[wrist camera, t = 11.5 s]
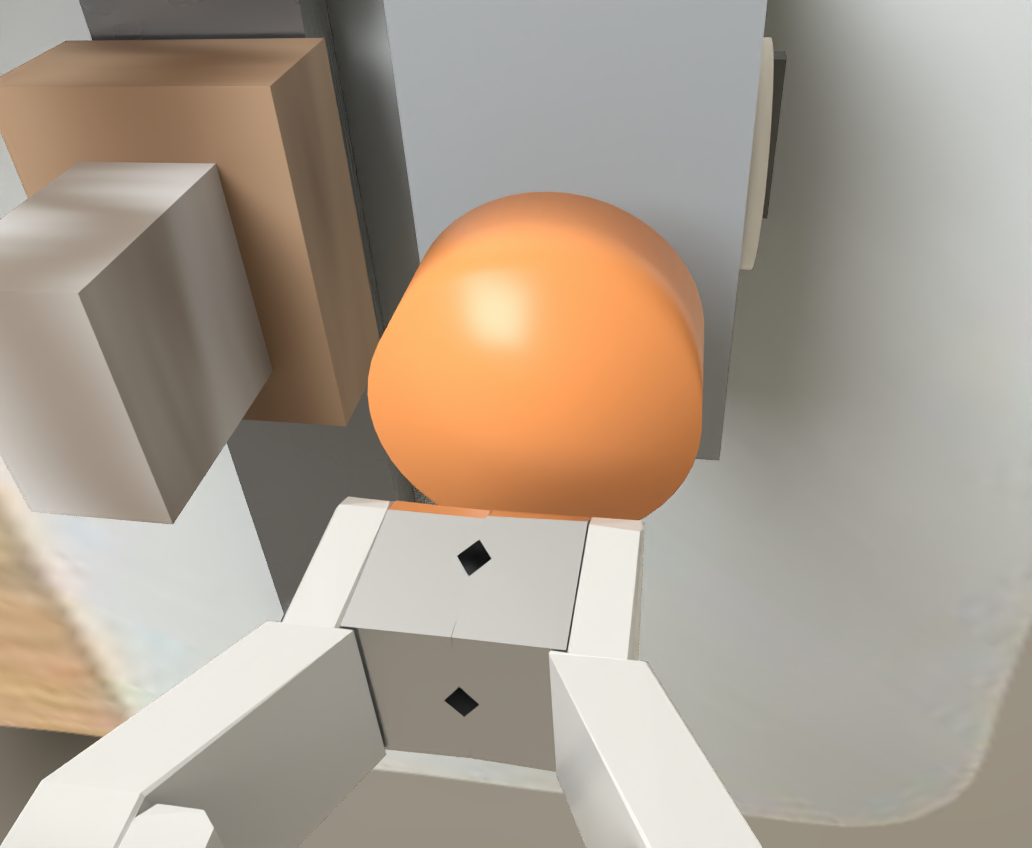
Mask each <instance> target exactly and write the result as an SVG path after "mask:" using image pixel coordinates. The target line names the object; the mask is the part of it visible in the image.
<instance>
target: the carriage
mask: <svg viewBox="0 0 1032 848" xmlns="http://www.w3.org/2000/svg"><path fill="white" fill-rule="evenodd" d="M0 132H1V135H2V137H3V139H4V142H5V144H6V147H7V149H8V151H9V154H10V156H11V159H12V161H13V163H14V166H15V168H16V170H17V173H18V175H19V178H20V180H21V182H22V185H23V187H24V190H25V192H26V194H27V197H28V199H27V200H26V201H24V202H23V203H22V204H20V205H19V206H18V207H16V208H15V209H14V210H12V211H11V212H9V213H8V214H7V215H5V216H4V217H3V218H1V219H0V455H1V457H2V459H3V461H4V463H5V464H6V466H7V468H8V470H9V472H10V474H11V475H12V477H13V479H14V481H15V483H16V485H17V487H18V488H19V490H20V492H21V494H22V496H23V498H24V500H25V501H26V503H27V505H28V507H29V509H30V511H31V512H39V513H50V514H61V515H73V516H84V517H95V518H107V519H118V520H129V521H141V522H152V523H163V524H173V523H174V522H175V520H176V519H177V517H178V516H179V514H180V513H181V511H182V510H183V508H184V507H185V505H186V504H187V502H188V501H189V499H190V498H191V496H192V494H193V493H194V491H195V490H196V488H197V487H198V485H199V484H200V482H201V481H202V479H203V478H204V476H205V475H206V473H207V472H208V470H209V469H210V467H211V465H212V464H213V462H214V461H215V459H216V458H217V456H218V455H219V453H220V452H221V450H222V449H223V447H224V446H225V444H226V443H227V441H228V440H229V438H230V436H231V435H232V433H233V432H234V430H235V429H236V427H237V426H238V424H239V423H240V421H241V420H257V421H272V422H288V423H303V424H318V425H333V426H347V424H348V422H349V420H350V418H351V416H352V414H353V412H354V410H355V408H356V406H357V404H358V402H359V400H360V398H361V396H362V394H363V392H364V390H365V388H366V387H367V385H368V376H369V371H370V366H371V361H372V358H373V356H374V353H375V350H376V348H377V345H378V343H379V341H380V340H379V335H378V329H377V324H376V318H375V313H374V307H373V302H372V296H371V291H370V285H369V280H368V274H367V269H366V263H365V258H364V252H363V247H362V241H361V236H360V230H359V225H358V219H357V214H356V208H355V203H354V197H353V192H352V186H351V181H350V175H349V170H348V164H347V159H346V153H345V148H344V142H343V137H342V131H341V126H340V120H339V115H338V109H337V104H336V98H335V93H334V87H333V82H332V76H331V71H330V65H329V60H328V54H327V49H326V43H325V38H265V39H180V40H95V41H65V42H63V43H61V44H60V45H58V46H56V47H54V48H52V49H50V50H48V51H47V52H45V53H43V54H41V55H39V56H37V57H35V58H34V59H32V60H30V61H28V62H26V63H24V64H23V65H21V66H19V67H17V68H15V69H13V70H11V71H10V72H8V73H6V74H4V75H2V76H0Z"/></svg>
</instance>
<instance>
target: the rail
mask: <svg viewBox="0 0 1032 848" xmlns="http://www.w3.org/2000/svg"><path fill="white" fill-rule="evenodd" d="M79 2H80V5H81V7H82V10H83V13H84V16H85V19H86V22H87V25H88V28H89V31H90V34H91V37H92V40H93V41H95V40H180V39H265V38H325V43H326V49H327V54H328V60H329V65H330V71H331V76H332V82H333V87H334V93H335V98H336V104H337V109H338V115H339V120H340V126H341V131H342V137H343V142H344V148H345V153H346V159H347V164H348V170H349V175H350V181H351V186H352V192H353V197H354V203H355V208H356V214H357V219H358V225H359V230H360V236H361V241H362V247H363V252H364V258H365V263H366V269H367V274H368V280H369V285H370V291H371V296H372V302H373V307H374V313H375V318H376V324H377V329H378V335H379V340H380V339H381V337H382V335H383V334H384V326H383V320H382V315H381V309H380V303H379V298H378V292H377V286H376V281H375V275H374V269H373V264H372V258H371V252H370V247H369V241H368V235H367V230H366V224H365V218H364V213H363V207H362V201H361V196H360V190H359V184H358V179H357V173H356V167H355V162H354V156H353V150H352V145H351V139H350V133H349V128H348V122H347V116H346V111H345V105H344V99H343V94H342V88H341V82H340V77H339V71H338V65H337V60H336V54H335V48H334V43H333V37H332V31H331V26H330V20H329V14H328V9H327V3H326V0H79ZM227 445H228V448H229V451H230V454H231V457H232V460H233V463H234V466H235V469H236V472H237V475H238V478H239V481H240V484H241V487H242V490H243V493H244V496H245V499H246V502H247V505H248V508H249V511H250V514H251V517H252V520H253V522H254V525H255V528H256V531H257V534H258V537H259V540H260V543H261V546H262V549H263V552H264V555H265V558H266V561H267V564H268V567H269V570H270V573H271V576H272V579H273V582H274V585H275V588H276V591H277V594H278V597H279V600H280V603H281V606H282V609H283V612H284V616H285V614H286V612H287V610H288V608H289V606H290V604H291V602H292V600H293V597H294V595H295V593H296V591H297V589H298V587H299V585H300V583H301V581H302V579H303V577H304V574H305V572H306V570H307V568H308V566H309V564H310V562H311V560H312V558H313V556H314V553H315V551H316V549H317V547H318V545H319V543H320V541H321V539H322V537H323V535H324V533H325V530H326V528H327V526H328V524H329V522H330V520H331V518H332V516H333V514H334V512H335V509H336V507H337V506H338V505H339V504H340V503H342V502H343V501H344V500H345V499H346V498H347V497H348V496H349V497H358V498H367V499H376V500H385V501H394V502H395V501H404V502H414V503H415V501H414V496H413V490H412V484H411V482H410V481H409V480H408V479H407V478H406V477H405V476H404V475H403V474H402V473H401V472H400V471H399V469H398V468H397V467H396V465H395V464H394V463H393V462H392V460H391V459H390V457H389V456H388V454H387V452H386V451H385V449H384V447H383V446H382V444H381V442H380V440H379V437H378V435H377V433H376V430H375V428H374V425H373V421H372V418H371V414H370V410H369V402H368V385H367V387H366V388H365V390H364V392H363V394H362V396H361V398H360V400H359V402H358V404H357V406H356V408H355V410H354V412H353V414H352V416H351V418H350V420H349V422H348V424H347V426H333V425H318V424H303V423H288V422H272V421H257V420H241V421H240V423H239V424H238V426H237V427H236V429H235V430H234V432H233V433H232V435H231V436H230V438H229V440H228V441H227ZM284 616H283V618H284ZM283 618H282V620H281V622H282V621H283Z"/></svg>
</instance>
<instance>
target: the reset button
mask: <svg viewBox="0 0 1032 848" xmlns="http://www.w3.org/2000/svg"><path fill="white" fill-rule="evenodd" d="M703 362H704V315H703V309H702V302H701V299H700V296H699V293H698V290H697V287H696V284H695V282H694V280H693V278H692V276H691V274H690V272H689V270H688V268H687V267H686V265H685V264H684V262H683V261H682V259H681V258H680V256H679V255H678V253H677V252H676V251H675V250H674V249H673V248H672V247H671V246H670V245H669V243H668V242H667V241H666V240H665V239H664V238H663V237H662V236H661V235H659V234H658V233H657V232H656V231H655V230H653V229H652V228H651V227H650V226H649V225H647V224H646V223H644V222H643V221H641V220H640V219H638V218H637V217H635V216H633V215H632V214H630V213H628V212H626V211H624V210H622V209H620V208H618V207H616V206H614V205H612V204H609V203H606V202H603V201H600V200H597V199H594V198H591V197H586V196H581V195H576V194H572V193H562V192H549V191H548V192H527V193H521V194H515V195H510V196H505V197H502V198H499V199H496V200H493V201H489V202H487V203H485V204H483V205H481V206H478V207H476V208H474V209H472V210H470V211H469V212H467V213H466V214H464V215H462V216H461V217H459V218H458V219H456V220H455V221H454V222H453V223H452V224H450V225H449V226H448V227H447V228H446V229H445V230H444V231H443V232H441V234H440V235H439V236H438V237H437V238H436V240H435V241H434V242H433V243H432V244H431V246H430V247H429V249H428V251H427V252H426V254H425V256H424V257H423V259H422V261H421V263H420V265H419V267H418V268H417V270H416V272H415V274H414V276H413V278H412V280H411V282H410V284H409V286H408V288H407V290H406V291H405V293H404V295H403V297H402V299H401V301H400V303H399V305H398V307H397V309H396V311H395V312H394V314H393V316H392V318H391V320H390V322H389V324H388V326H387V328H386V330H385V332H384V334H383V335H382V337H381V339H380V341H379V343H378V345H377V348H376V350H375V353H374V356H373V358H372V361H371V366H370V371H369V376H368V402H369V410H370V414H371V418H372V421H373V425H374V428H375V430H376V433H377V435H378V437H379V440H380V442H381V444H382V446H383V447H384V449H385V451H386V452H387V454H388V456H389V457H390V459H391V460H392V462H393V463H394V464H395V465H396V467H397V468H398V469H399V471H400V472H401V473H402V474H403V475H404V476H405V477H406V478H407V479H408V480H409V481H410V482H411V483H412V484H413V485H414V486H415V487H416V488H417V489H418V490H419V491H420V492H422V493H423V494H424V495H425V496H427V497H428V498H429V499H430V500H432V501H433V502H435V503H436V504H438V505H442V506H451V507H461V508H470V509H479V510H489V511H492V510H498V511H512V512H526V513H539V514H553V515H567V516H581V517H591V518H592V517H597V518H611V519H626V520H640V519H642V518H644V517H646V516H647V515H649V514H650V513H652V512H653V511H654V510H656V509H657V508H659V507H660V506H661V505H662V504H664V503H665V502H666V501H667V500H668V499H669V498H670V497H671V496H672V495H673V494H674V493H675V492H676V490H677V489H678V488H679V487H680V485H681V484H682V483H683V482H684V480H685V478H686V477H687V475H688V473H689V471H690V469H691V468H692V466H693V463H694V461H695V458H696V455H697V452H698V449H699V444H700V438H701V432H702V399H703Z"/></svg>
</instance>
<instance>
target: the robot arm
mask: <svg viewBox="0 0 1032 848" xmlns="http://www.w3.org/2000/svg"><path fill="white" fill-rule="evenodd" d="M643 551H644V522H643V521H640V520H626V519H611V518H597V517H592V518H591V517H581V516H567V515H553V514H539V513H526V512H512V511H498V510H492V511H489V510H479V509H470V508H461V507H451V506H442V505H432V504H423V503H414V502H404V501H395V502H394V501H385V500H376V499H367V498H358V497H349V496H348V497H347V498H346V499H345V500H344V501H343V502H342V503H340V504H339V505H338V506H337V507H336V509H335V512H334V514H333V516H332V518H331V520H330V522H329V524H328V526H327V528H326V530H325V533H324V535H323V537H322V539H321V541H320V543H319V545H318V547H317V549H316V551H315V553H314V556H313V558H312V560H311V562H310V564H309V566H308V568H307V570H306V572H305V574H304V577H303V579H302V581H301V583H300V585H299V587H298V589H297V591H296V593H295V595H294V597H293V600H292V602H291V604H290V606H289V608H288V610H287V612H286V614H285V616H284V618H283V621H282V622H278V621H266V622H265V623H263V624H262V625H261V626H259V627H258V628H256V629H255V630H253V631H252V632H251V633H249V634H248V635H246V636H245V637H244V638H242V639H241V640H239V641H238V642H237V643H235V644H234V645H232V646H231V647H229V648H228V649H227V650H225V651H224V652H222V653H221V654H220V655H218V656H217V657H215V658H214V659H213V660H211V661H210V662H208V663H207V664H205V665H204V666H203V667H201V668H200V669H198V670H197V671H196V672H194V673H193V674H191V675H190V676H189V677H187V678H186V679H184V680H183V681H181V682H180V683H179V684H177V685H176V686H174V687H173V688H172V689H170V690H169V691H167V692H166V693H165V694H163V695H162V696H160V697H159V698H158V699H156V700H155V701H153V702H152V703H150V704H149V705H148V706H146V707H145V708H143V709H142V710H141V711H139V712H138V713H136V714H135V715H134V716H132V717H131V718H129V719H128V720H126V721H125V722H124V723H122V724H121V725H119V726H118V727H117V728H115V729H114V730H112V731H111V732H110V733H108V734H107V735H105V736H104V737H102V738H101V739H100V740H98V741H97V742H96V743H94V744H93V745H91V746H90V747H88V748H87V749H86V750H84V751H83V752H81V753H80V754H78V755H77V756H76V757H74V758H73V759H71V760H70V761H69V762H67V763H66V764H64V765H63V766H62V767H60V768H59V769H57V770H56V771H55V772H53V773H52V774H50V775H49V776H47V777H46V778H45V779H43V780H42V781H41V782H40V784H39V785H38V787H37V789H36V790H35V792H34V793H33V795H32V797H31V798H30V800H29V801H28V803H27V805H26V806H25V808H24V809H23V811H22V812H21V814H20V816H19V817H18V819H17V820H16V822H15V824H14V825H13V827H12V828H11V830H10V832H9V833H8V835H7V836H6V838H5V839H4V841H3V843H2V844H1V846H0V848H298V847H299V846H300V845H301V844H302V843H303V842H304V841H305V840H306V839H307V837H309V835H310V834H311V833H312V832H313V831H314V830H315V829H316V828H317V827H318V826H319V825H320V824H321V823H322V822H323V821H324V820H325V819H326V817H328V815H329V814H330V813H331V812H332V811H333V810H334V809H335V808H336V807H337V806H338V805H339V804H340V803H341V802H342V801H343V800H344V799H345V797H346V796H347V795H348V794H349V793H350V792H351V791H352V790H353V789H354V788H355V787H356V786H357V785H358V783H360V782H361V781H362V780H363V779H364V778H365V776H366V775H367V774H368V773H369V772H370V771H371V770H372V769H373V768H374V767H375V766H376V765H377V764H378V763H379V762H380V761H381V760H382V759H383V757H384V756H385V755H386V752H385V749H388V750H398V751H407V752H417V753H427V754H436V755H446V756H456V757H466V758H473V759H480V760H486V761H492V762H499V763H505V764H511V765H518V766H524V767H530V768H537V769H543V770H549V771H555V772H556V775H557V778H558V781H559V783H560V786H561V788H562V791H563V793H564V795H565V798H566V800H567V803H568V805H569V808H570V810H571V812H572V815H573V817H574V819H575V822H576V825H577V827H578V829H579V832H580V834H581V837H582V839H583V841H584V844H585V847H586V848H762V846H761V844H760V842H759V841H758V839H757V838H756V836H755V834H754V833H753V831H752V829H751V828H750V826H749V825H748V823H747V821H746V820H745V818H744V817H743V815H742V813H741V812H740V810H739V808H738V807H737V805H736V804H735V802H734V800H733V799H732V797H731V796H730V794H729V792H728V791H727V789H726V788H725V786H724V784H723V783H722V781H721V779H720V778H719V776H718V775H717V773H716V771H715V770H714V768H713V767H712V765H711V763H710V762H709V760H708V758H707V757H706V755H705V754H704V752H703V750H702V749H701V747H700V746H699V744H698V742H697V741H696V739H695V737H694V736H693V734H692V733H691V731H690V729H689V728H688V726H687V725H686V723H685V721H684V720H683V718H682V717H681V715H680V713H679V712H678V710H677V708H676V707H675V705H674V704H673V702H672V700H671V699H670V697H669V696H668V694H667V692H666V691H665V689H664V687H663V686H662V684H661V683H660V681H659V679H658V678H657V676H656V675H655V673H654V671H653V670H652V668H651V667H650V665H649V663H648V662H645V661H638V657H639V638H640V618H641V596H642V574H643Z"/></svg>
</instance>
